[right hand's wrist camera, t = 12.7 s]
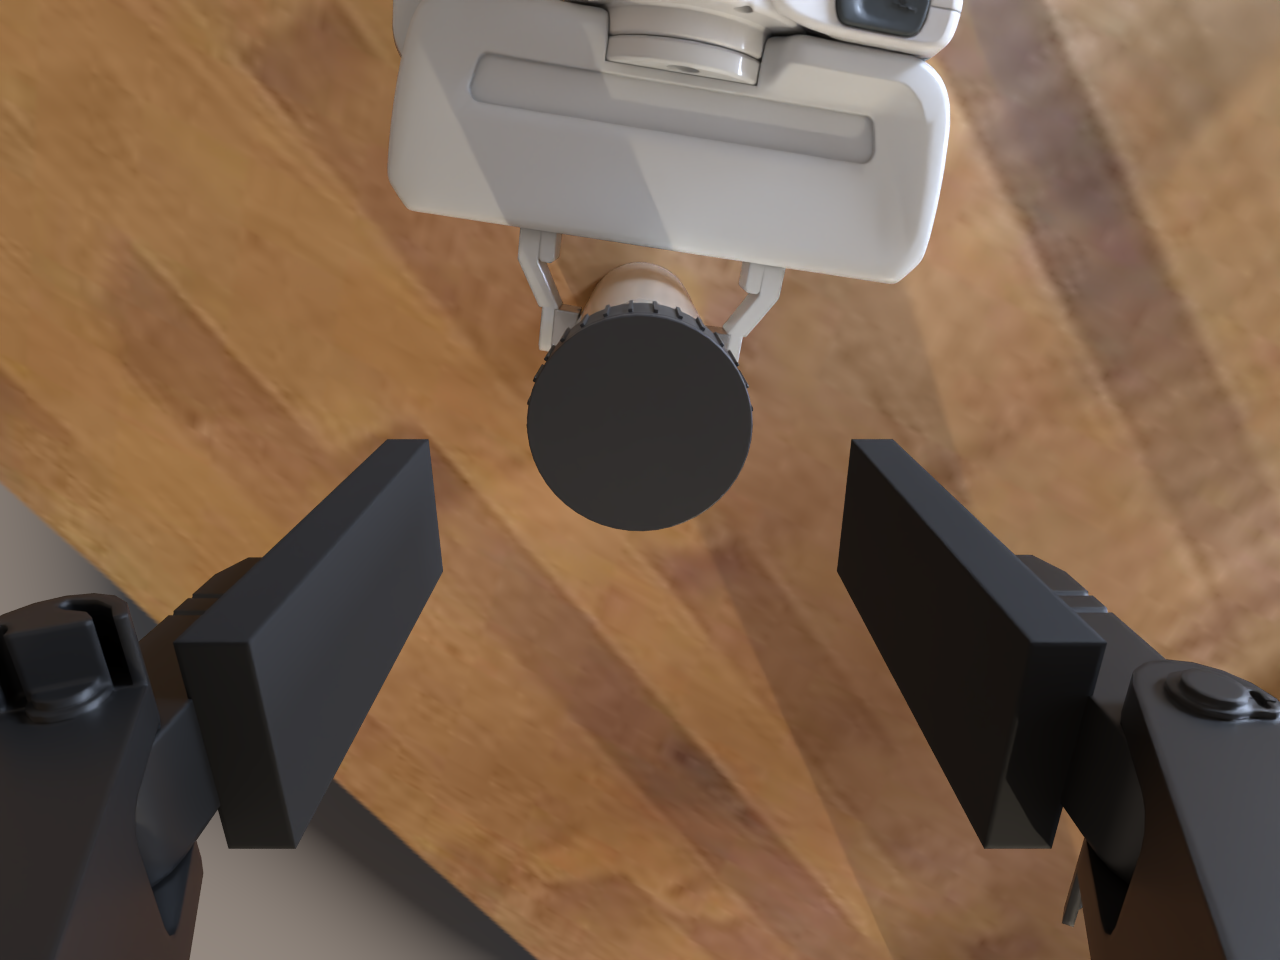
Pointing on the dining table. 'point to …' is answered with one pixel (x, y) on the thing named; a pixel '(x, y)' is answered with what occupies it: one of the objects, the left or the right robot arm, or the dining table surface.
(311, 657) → the right robot arm
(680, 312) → the lid
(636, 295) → the jar
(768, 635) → the dining table surface
